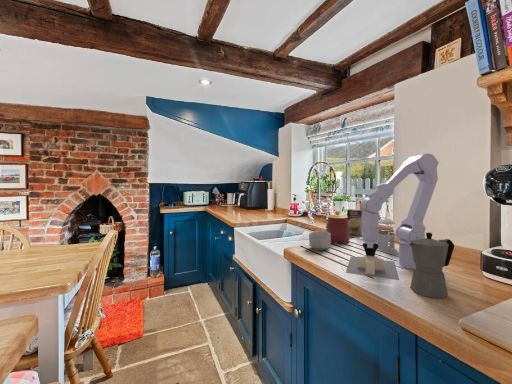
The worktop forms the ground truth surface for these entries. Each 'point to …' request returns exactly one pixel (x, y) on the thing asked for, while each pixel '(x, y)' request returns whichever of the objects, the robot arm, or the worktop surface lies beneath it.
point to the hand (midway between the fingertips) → (370, 261)
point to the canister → (338, 227)
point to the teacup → (319, 240)
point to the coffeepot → (430, 266)
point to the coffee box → (355, 221)
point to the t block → (371, 263)
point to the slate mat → (388, 271)
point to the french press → (386, 236)
